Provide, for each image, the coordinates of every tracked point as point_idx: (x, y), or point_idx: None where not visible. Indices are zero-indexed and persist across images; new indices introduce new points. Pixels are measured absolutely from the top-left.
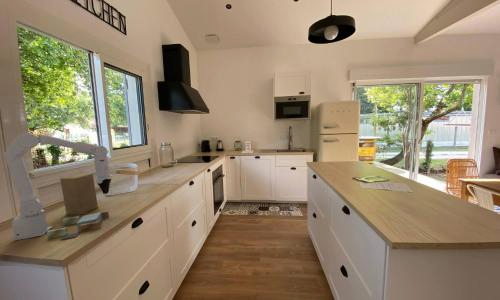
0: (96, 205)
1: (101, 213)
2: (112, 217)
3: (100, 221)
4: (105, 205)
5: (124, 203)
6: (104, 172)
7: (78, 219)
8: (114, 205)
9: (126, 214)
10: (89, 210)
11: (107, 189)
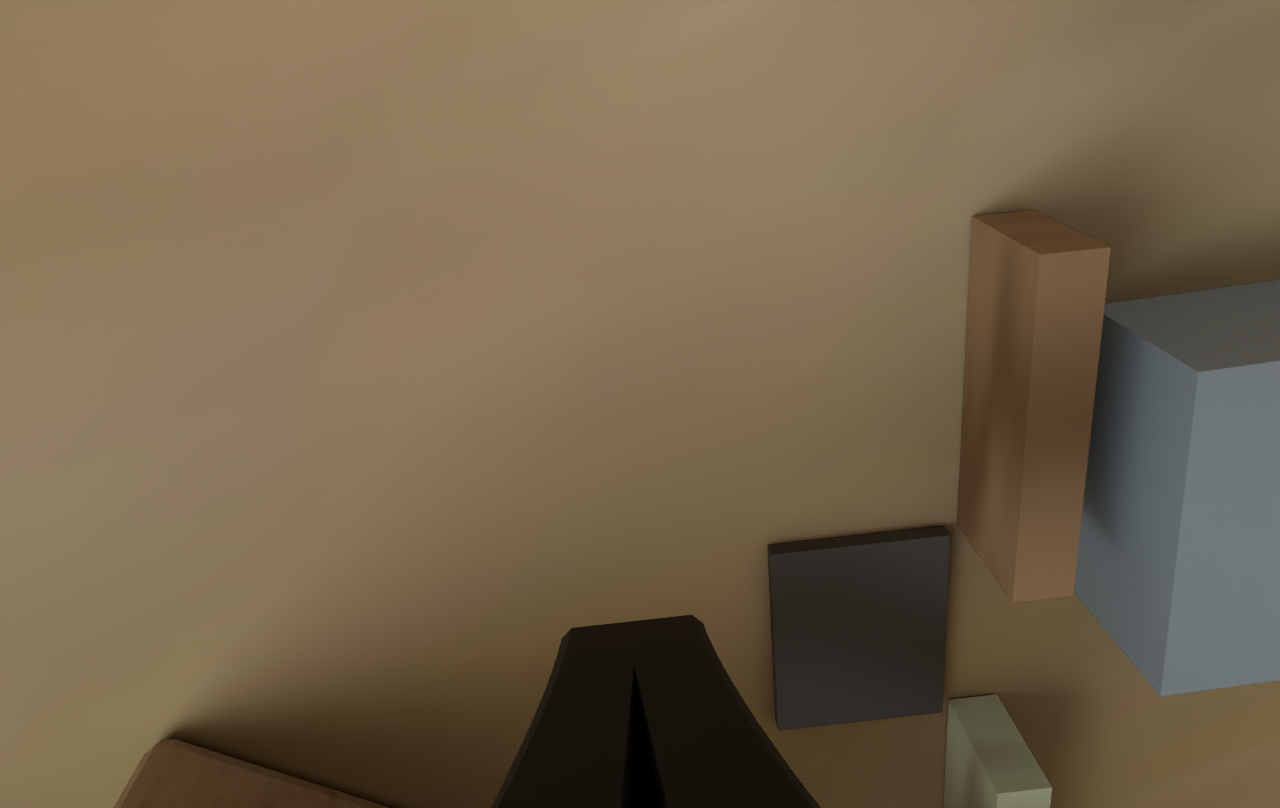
0: (177, 783)
1: (1085, 381)
2: (1092, 97)
3: (1238, 291)
4: (68, 619)
5: (7, 138)
6: None
7: (1022, 744)
8: (127, 388)
9: None
10: (365, 803)
11: (770, 755)
